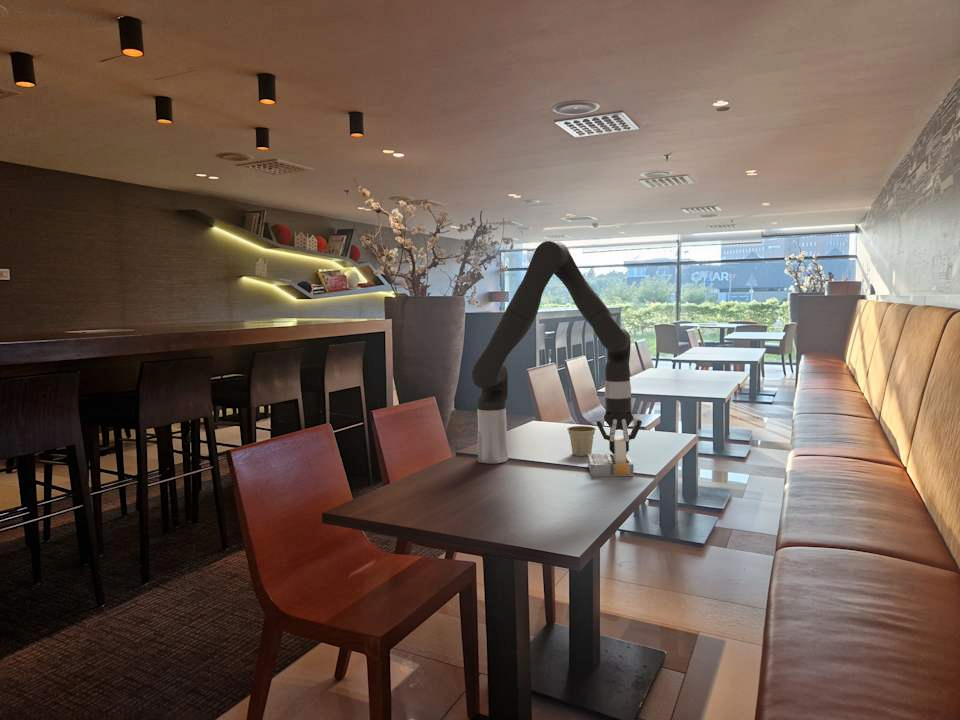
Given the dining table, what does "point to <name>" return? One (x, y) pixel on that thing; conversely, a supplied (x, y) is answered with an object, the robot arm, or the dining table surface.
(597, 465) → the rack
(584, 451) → the flower pot
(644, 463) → the dining table surface
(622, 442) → the panel
